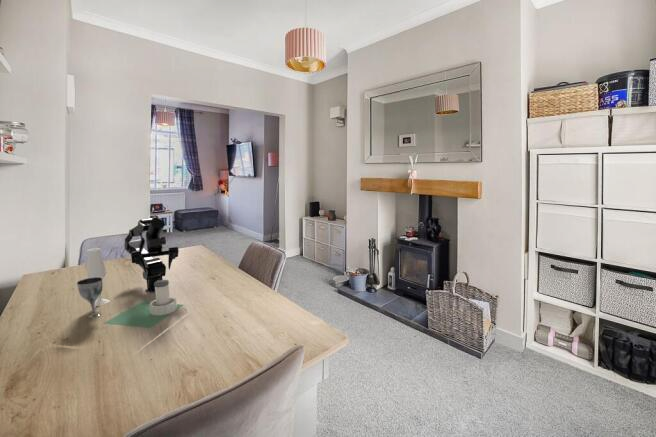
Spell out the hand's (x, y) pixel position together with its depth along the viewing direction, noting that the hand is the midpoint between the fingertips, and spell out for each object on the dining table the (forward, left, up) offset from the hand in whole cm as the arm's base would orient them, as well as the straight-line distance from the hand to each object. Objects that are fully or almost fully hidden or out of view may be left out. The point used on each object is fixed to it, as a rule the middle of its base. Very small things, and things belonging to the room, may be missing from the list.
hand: (157, 270), depth 141 cm
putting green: (+4, -14, -14) cm, 20 cm away
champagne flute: (-24, -7, -14) cm, 28 cm away
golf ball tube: (+9, -10, -13) cm, 19 cm away
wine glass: (-15, -19, -14) cm, 28 cm away
